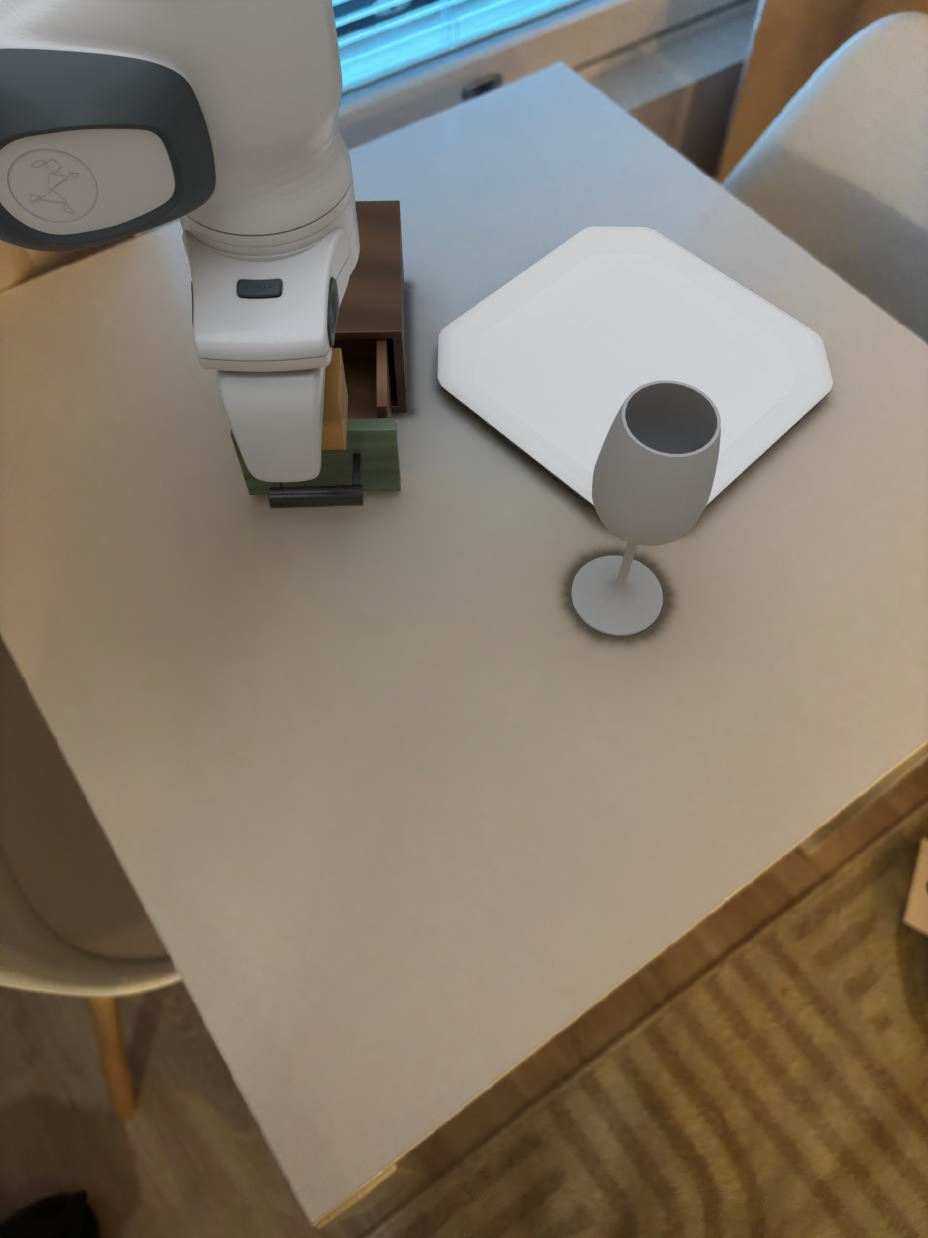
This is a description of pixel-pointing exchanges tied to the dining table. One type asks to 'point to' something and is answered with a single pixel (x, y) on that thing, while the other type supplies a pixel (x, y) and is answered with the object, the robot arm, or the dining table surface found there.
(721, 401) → the plate
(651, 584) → the wineglass
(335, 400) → the block
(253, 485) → the drawer
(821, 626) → the dining table surface
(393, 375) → the cabinet
